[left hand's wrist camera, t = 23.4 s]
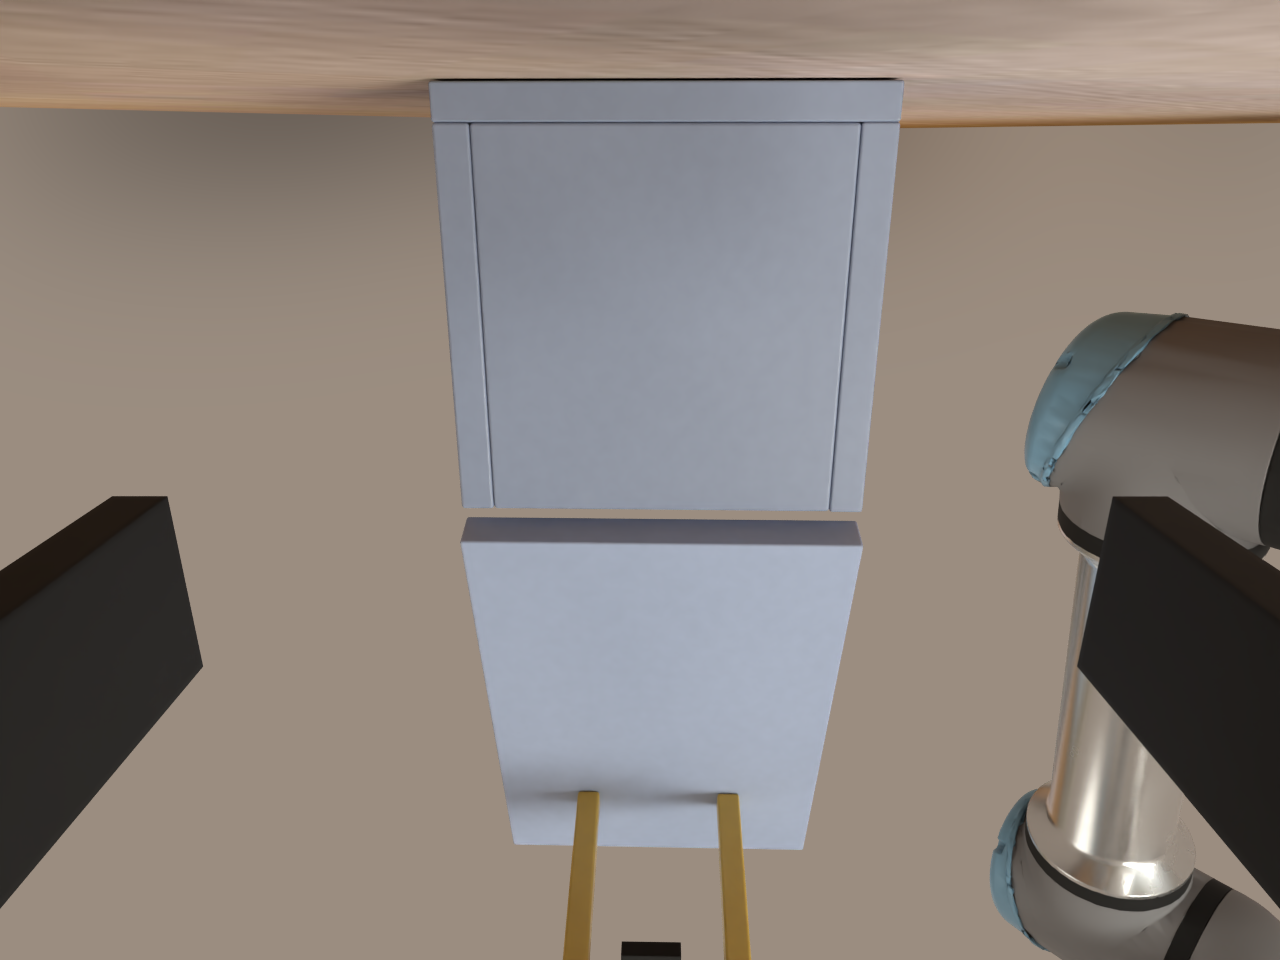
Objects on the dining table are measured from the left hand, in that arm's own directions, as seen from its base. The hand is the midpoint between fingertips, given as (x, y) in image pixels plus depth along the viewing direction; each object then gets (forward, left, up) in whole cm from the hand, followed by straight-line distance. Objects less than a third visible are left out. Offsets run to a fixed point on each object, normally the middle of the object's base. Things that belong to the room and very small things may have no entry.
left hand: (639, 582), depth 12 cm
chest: (+13, -8, -7) cm, 17 cm away
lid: (+10, -6, +10) cm, 15 cm away
